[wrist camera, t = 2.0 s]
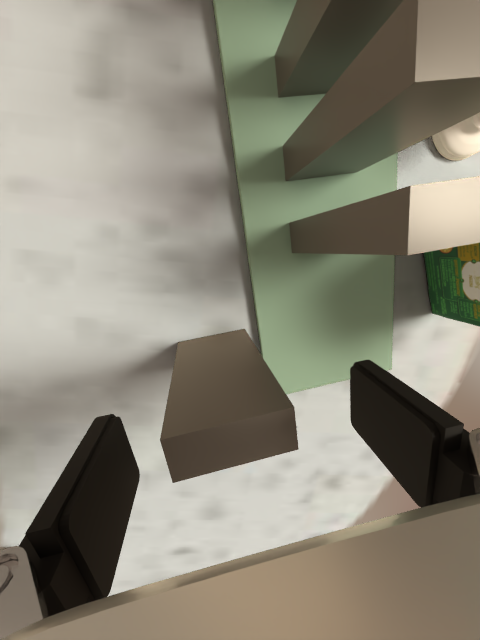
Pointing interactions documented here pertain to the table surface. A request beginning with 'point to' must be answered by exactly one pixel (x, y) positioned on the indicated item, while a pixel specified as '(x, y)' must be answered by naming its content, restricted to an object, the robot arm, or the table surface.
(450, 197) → the domino
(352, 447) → the table surface
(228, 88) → the mat
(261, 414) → the domino
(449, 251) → the coffee box
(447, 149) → the chess piece
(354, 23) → the domino
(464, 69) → the domino
